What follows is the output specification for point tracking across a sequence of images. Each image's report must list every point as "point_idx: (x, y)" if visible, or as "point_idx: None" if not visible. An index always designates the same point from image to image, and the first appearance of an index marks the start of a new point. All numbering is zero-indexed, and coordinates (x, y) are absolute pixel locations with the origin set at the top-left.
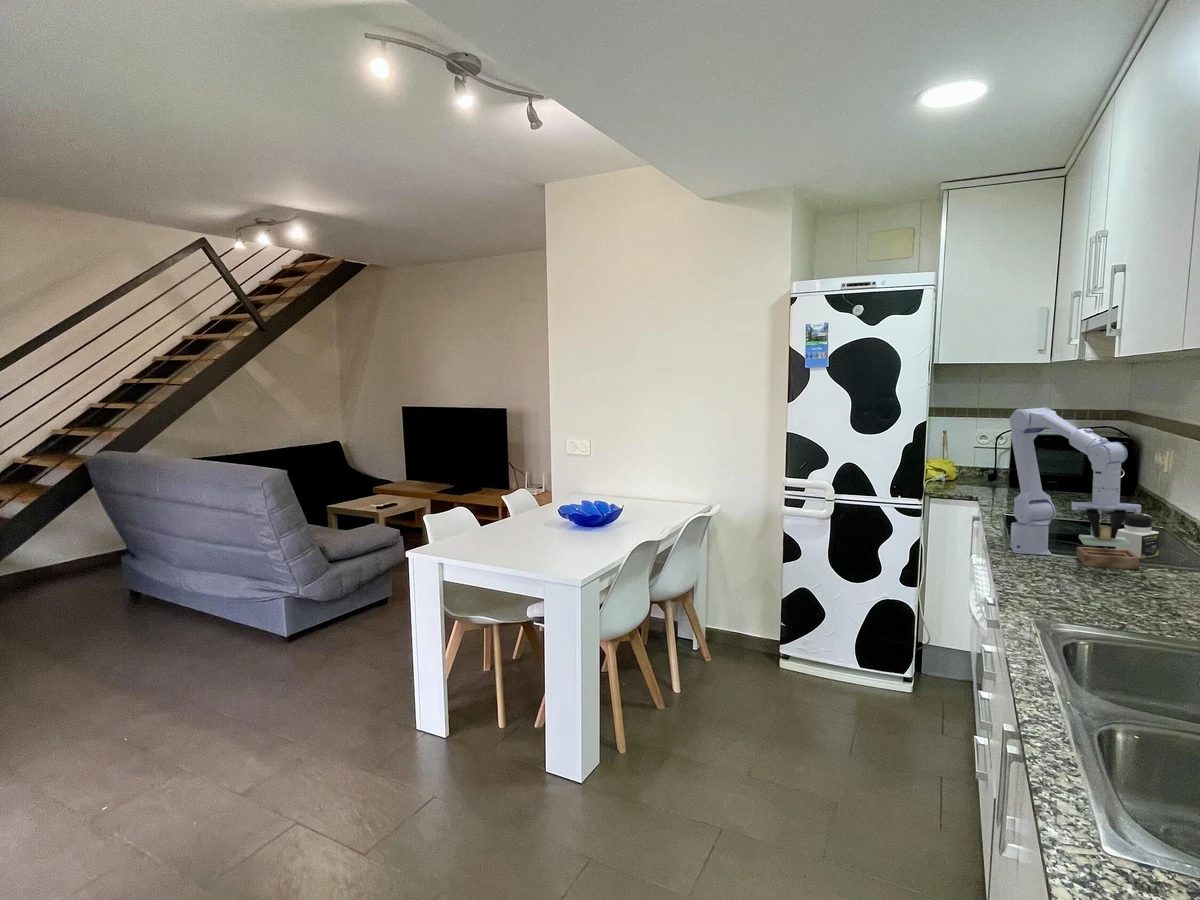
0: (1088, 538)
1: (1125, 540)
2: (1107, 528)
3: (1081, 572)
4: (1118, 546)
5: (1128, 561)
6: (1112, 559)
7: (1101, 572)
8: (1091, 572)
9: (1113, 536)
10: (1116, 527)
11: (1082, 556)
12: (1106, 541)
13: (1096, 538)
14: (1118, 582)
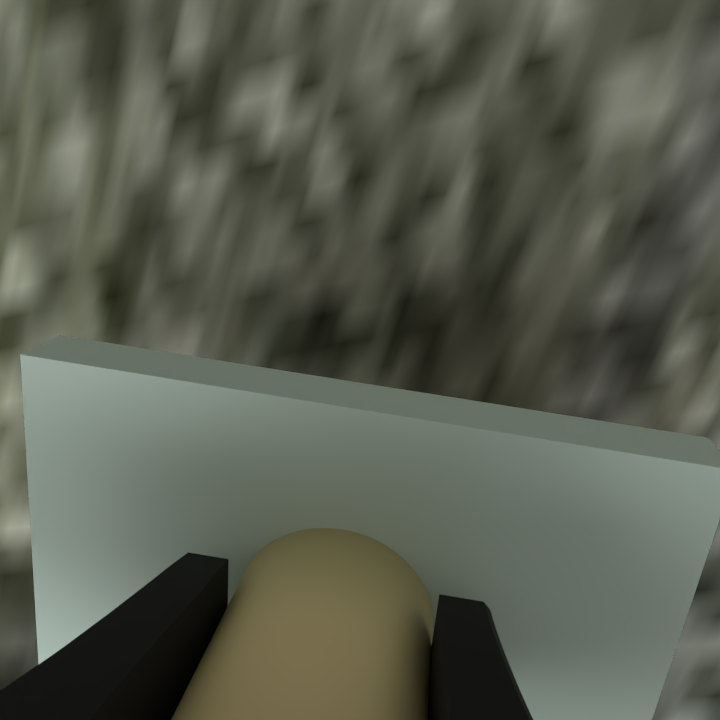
0: (564, 648)
1: (54, 556)
2: (255, 717)
3: (583, 362)
4: (213, 362)
5: None
6: None
7: (403, 389)
8: (490, 376)
9: (200, 572)
10: (49, 705)
11: None
12: (347, 478)
13: None
14: (373, 61)
